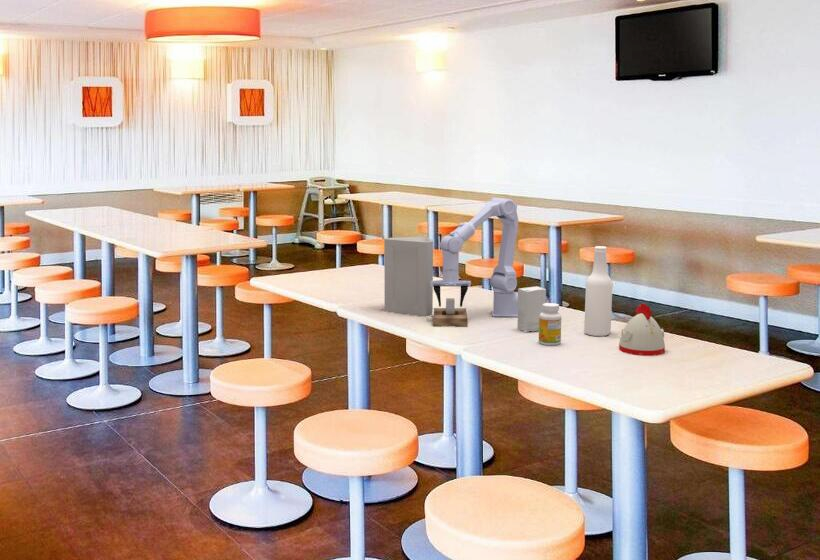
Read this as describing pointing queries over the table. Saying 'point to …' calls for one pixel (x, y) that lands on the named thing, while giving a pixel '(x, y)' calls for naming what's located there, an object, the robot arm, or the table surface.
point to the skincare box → (530, 307)
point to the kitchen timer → (642, 334)
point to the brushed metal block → (450, 306)
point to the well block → (450, 317)
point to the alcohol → (598, 297)
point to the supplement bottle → (550, 325)
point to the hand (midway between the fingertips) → (450, 306)
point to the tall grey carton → (409, 275)
